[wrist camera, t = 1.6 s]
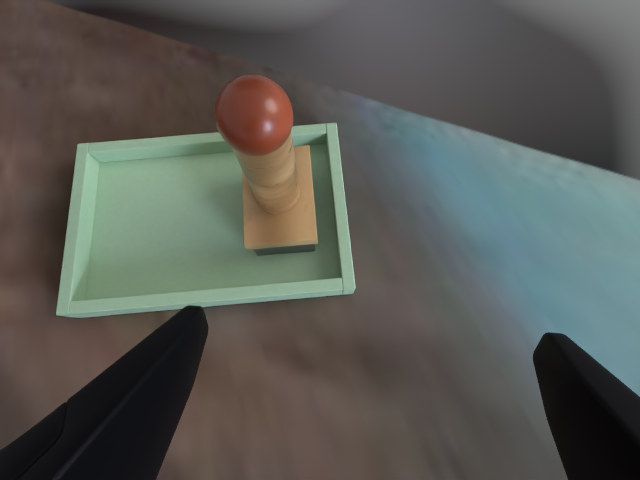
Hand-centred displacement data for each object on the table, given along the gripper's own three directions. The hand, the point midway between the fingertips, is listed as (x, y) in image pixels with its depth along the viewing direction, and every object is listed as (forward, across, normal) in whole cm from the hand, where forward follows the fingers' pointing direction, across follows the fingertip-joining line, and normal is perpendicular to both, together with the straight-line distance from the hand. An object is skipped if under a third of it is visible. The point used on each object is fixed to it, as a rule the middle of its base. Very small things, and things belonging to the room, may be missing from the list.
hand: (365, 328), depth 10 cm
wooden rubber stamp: (+15, +5, +6) cm, 17 cm away
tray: (+14, +10, +7) cm, 19 cm away
